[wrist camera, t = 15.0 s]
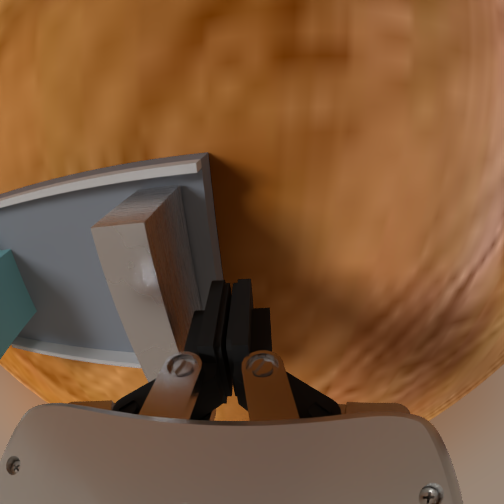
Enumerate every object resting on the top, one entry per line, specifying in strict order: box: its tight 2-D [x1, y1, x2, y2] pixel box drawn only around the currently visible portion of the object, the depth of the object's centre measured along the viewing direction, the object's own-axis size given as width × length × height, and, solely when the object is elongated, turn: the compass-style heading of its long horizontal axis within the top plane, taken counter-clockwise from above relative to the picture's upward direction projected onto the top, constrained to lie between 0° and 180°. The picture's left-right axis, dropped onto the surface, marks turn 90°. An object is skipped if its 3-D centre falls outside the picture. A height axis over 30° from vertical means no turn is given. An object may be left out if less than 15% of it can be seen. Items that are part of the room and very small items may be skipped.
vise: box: [0, 153, 223, 368], centre depth 14 cm, size 22×12×7 cm, turn 94°
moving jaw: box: [91, 185, 202, 382], centre depth 13 cm, size 2×10×4 cm, turn 4°
